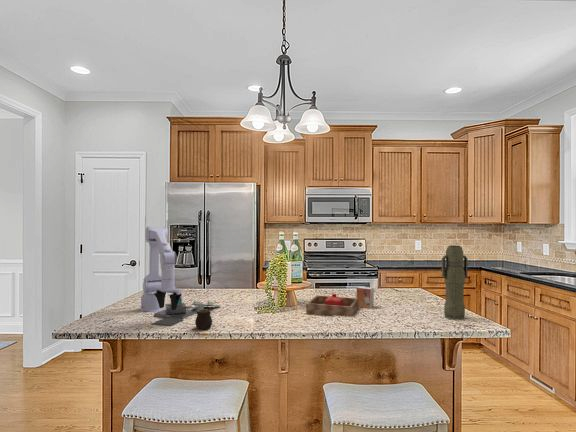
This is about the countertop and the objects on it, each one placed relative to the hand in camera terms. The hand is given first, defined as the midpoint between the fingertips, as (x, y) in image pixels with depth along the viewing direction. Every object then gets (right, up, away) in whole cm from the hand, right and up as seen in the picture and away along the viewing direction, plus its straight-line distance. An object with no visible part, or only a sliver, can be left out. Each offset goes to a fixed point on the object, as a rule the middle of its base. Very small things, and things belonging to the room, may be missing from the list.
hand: (167, 308), depth 173 cm
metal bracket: (+18, -6, +25) cm, 31 cm away
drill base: (-1, -7, +14) cm, 15 cm away
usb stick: (0, -5, +14) cm, 15 cm away
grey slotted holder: (+3, -5, +15) cm, 16 cm away
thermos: (+133, -7, +7) cm, 134 cm away
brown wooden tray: (+78, -7, +24) cm, 82 cm away
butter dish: (+79, -7, +27) cm, 84 cm away
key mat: (0, -6, 0) cm, 6 cm away
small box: (+96, -7, +33) cm, 102 cm away
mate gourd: (+19, -7, -9) cm, 22 cm away
